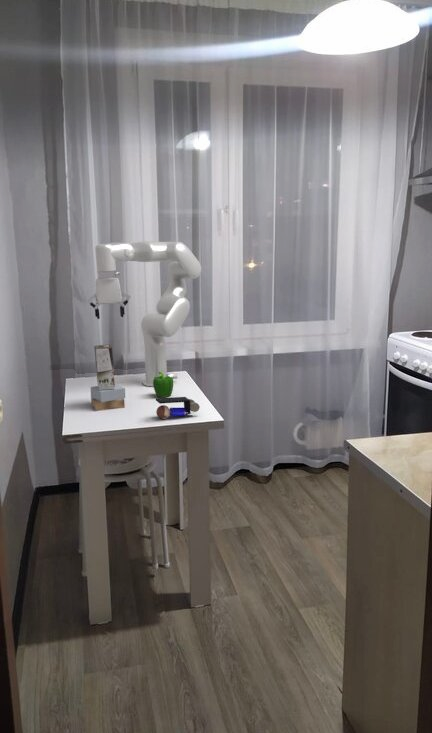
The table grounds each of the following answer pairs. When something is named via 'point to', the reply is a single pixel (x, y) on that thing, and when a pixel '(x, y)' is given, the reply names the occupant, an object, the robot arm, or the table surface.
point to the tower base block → (107, 404)
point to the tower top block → (108, 393)
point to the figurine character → (165, 411)
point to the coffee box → (104, 367)
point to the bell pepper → (163, 385)
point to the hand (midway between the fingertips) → (110, 317)
